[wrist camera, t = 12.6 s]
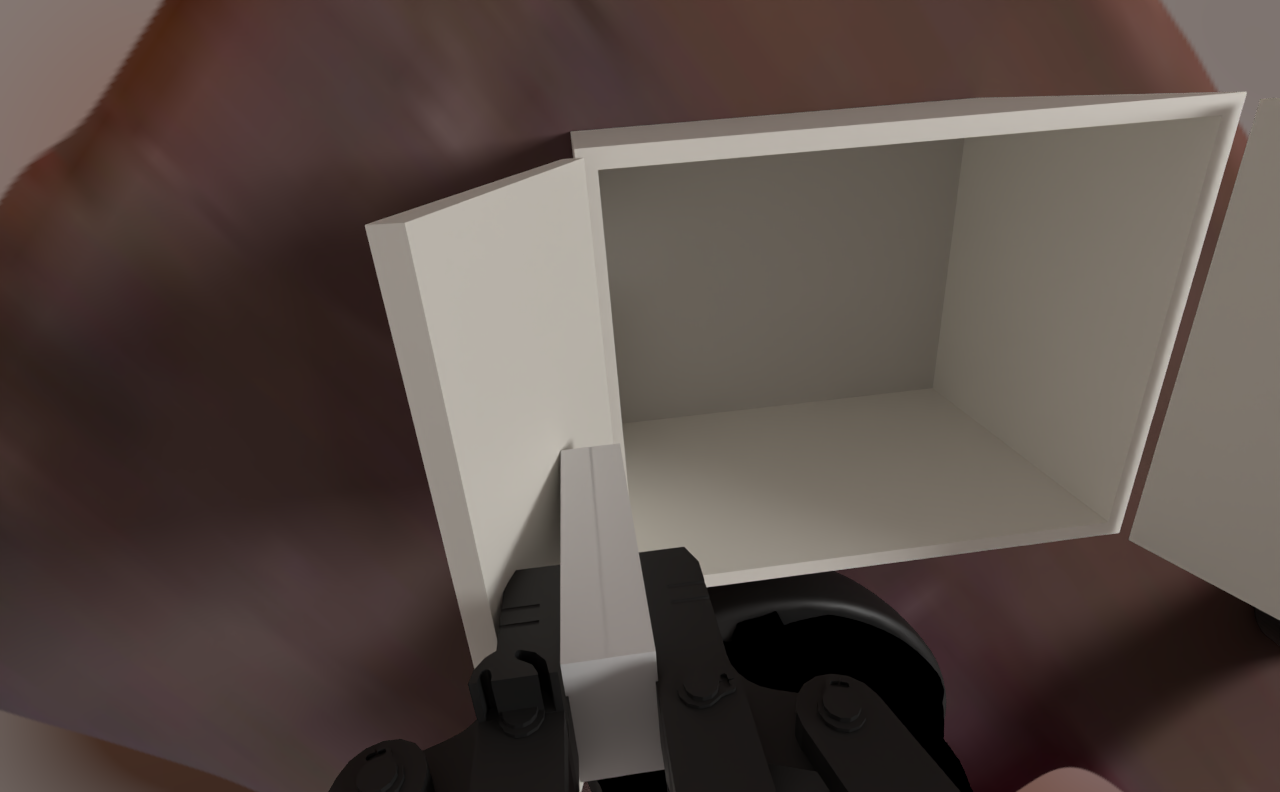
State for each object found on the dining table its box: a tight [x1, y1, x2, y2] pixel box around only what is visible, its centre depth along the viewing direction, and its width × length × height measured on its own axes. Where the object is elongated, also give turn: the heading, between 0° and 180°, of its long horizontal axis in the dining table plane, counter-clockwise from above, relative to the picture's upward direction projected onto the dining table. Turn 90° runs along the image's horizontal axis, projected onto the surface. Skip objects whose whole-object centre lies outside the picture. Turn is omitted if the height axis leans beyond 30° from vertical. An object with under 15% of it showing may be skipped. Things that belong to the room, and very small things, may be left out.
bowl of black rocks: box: [588, 571, 973, 792], centre depth 35 cm, size 20×20×19 cm
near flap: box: [365, 158, 613, 792], centre depth 16 cm, size 10×16×1 cm
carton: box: [570, 92, 1247, 587], centre depth 28 cm, size 20×16×14 cm
